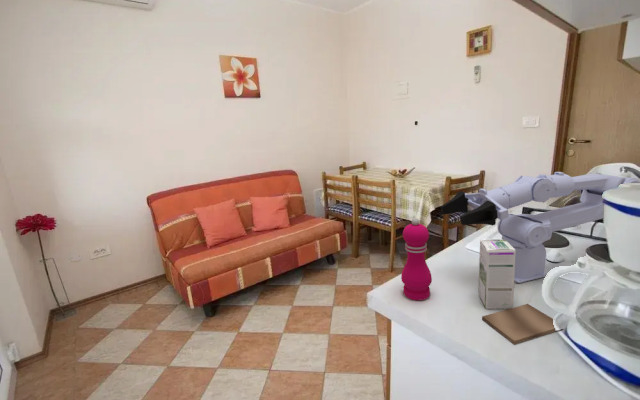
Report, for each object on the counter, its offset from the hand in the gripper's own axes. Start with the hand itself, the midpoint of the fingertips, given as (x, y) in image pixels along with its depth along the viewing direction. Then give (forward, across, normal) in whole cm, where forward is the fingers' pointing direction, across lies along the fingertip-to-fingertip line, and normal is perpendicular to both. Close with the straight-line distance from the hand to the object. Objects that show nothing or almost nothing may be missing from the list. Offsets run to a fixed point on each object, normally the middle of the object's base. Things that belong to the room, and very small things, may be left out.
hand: (451, 215), depth 73 cm
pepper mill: (+12, +1, +18) cm, 22 cm away
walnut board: (-2, +18, +19) cm, 26 cm away
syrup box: (-2, +10, +20) cm, 22 cm away
